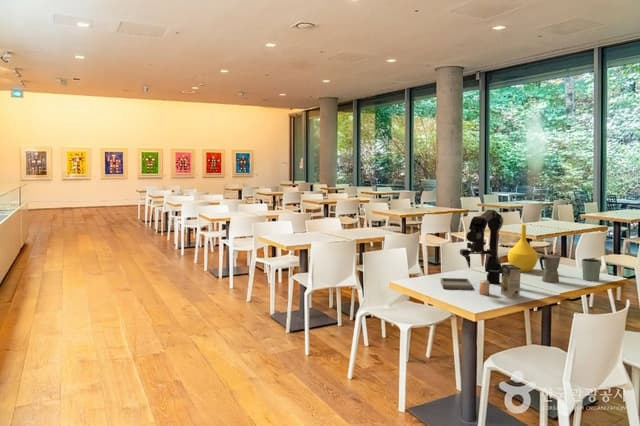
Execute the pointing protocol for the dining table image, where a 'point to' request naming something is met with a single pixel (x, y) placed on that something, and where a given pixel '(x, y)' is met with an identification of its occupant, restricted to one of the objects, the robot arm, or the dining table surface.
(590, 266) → the grey plant pot
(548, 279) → the coffeepot
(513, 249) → the vase
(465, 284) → the tray
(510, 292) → the coffee box
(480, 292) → the shaker
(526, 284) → the dining table surface
